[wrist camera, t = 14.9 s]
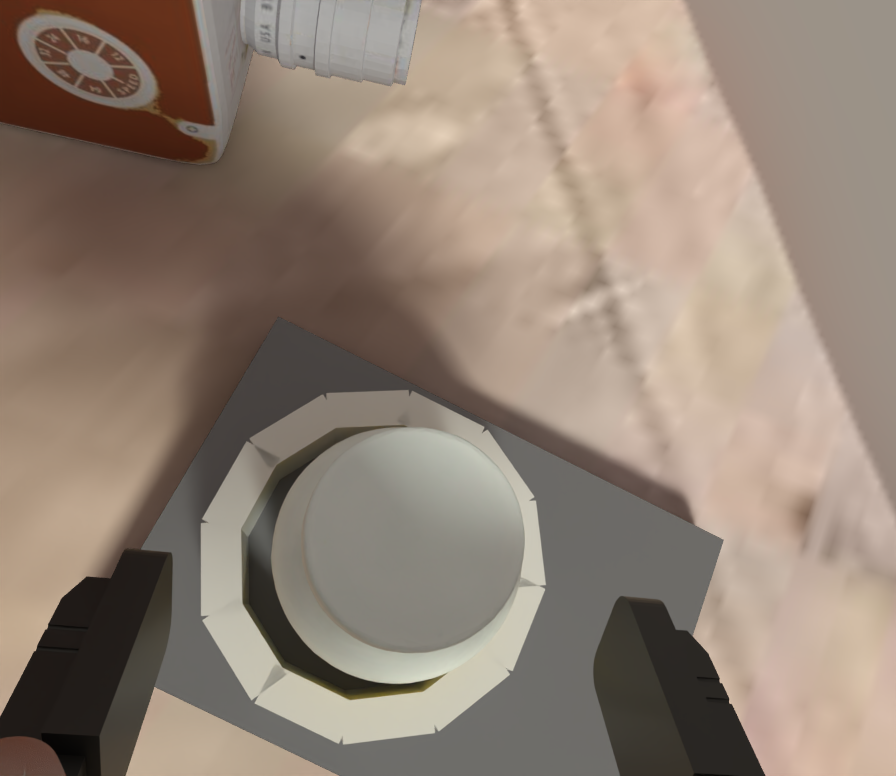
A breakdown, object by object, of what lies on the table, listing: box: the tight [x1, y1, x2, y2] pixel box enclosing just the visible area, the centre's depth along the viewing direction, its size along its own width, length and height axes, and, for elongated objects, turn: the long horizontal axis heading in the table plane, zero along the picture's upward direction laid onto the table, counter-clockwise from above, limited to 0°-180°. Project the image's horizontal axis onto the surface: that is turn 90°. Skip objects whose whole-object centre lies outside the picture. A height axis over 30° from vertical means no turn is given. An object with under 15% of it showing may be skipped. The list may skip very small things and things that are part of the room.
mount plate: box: [140, 317, 723, 776], centre depth 22 cm, size 16×11×4 cm
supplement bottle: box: [271, 427, 525, 684], centre depth 18 cm, size 5×5×10 cm
